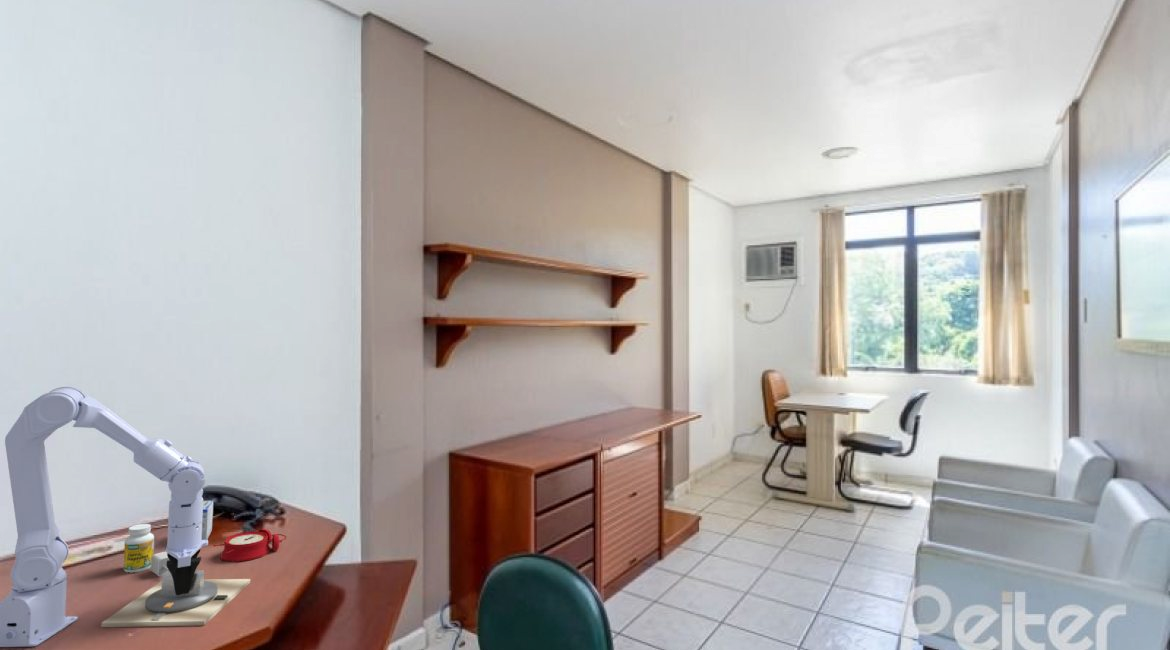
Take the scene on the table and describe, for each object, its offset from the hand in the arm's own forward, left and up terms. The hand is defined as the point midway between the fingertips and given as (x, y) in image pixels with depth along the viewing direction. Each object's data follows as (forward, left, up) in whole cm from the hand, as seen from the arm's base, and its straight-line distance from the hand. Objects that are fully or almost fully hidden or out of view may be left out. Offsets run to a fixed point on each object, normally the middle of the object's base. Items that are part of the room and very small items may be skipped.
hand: (182, 589), depth 115 cm
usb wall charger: (+14, +11, -3) cm, 18 cm away
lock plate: (0, 0, -3) cm, 3 cm away
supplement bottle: (+17, +19, -3) cm, 26 cm away
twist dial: (0, 0, -3) cm, 3 cm away
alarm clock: (+27, -2, -3) cm, 27 cm away
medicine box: (+36, +16, -3) cm, 39 cm away
